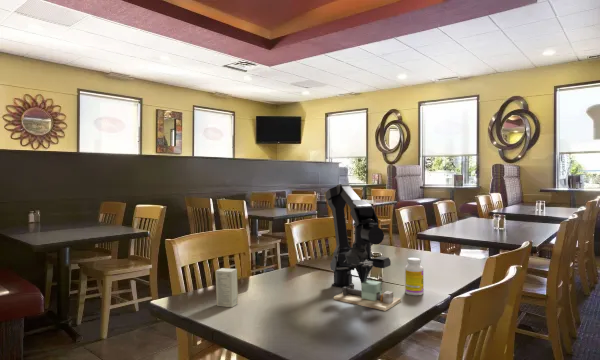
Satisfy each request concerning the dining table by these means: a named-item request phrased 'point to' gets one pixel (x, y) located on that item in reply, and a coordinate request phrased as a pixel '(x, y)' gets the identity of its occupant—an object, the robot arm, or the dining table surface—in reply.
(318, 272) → the dining table surface
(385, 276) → the dining table surface
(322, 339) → the dining table surface
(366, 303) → the cable board
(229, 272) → the skincare box
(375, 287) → the mint green cube
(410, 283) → the supplement bottle
